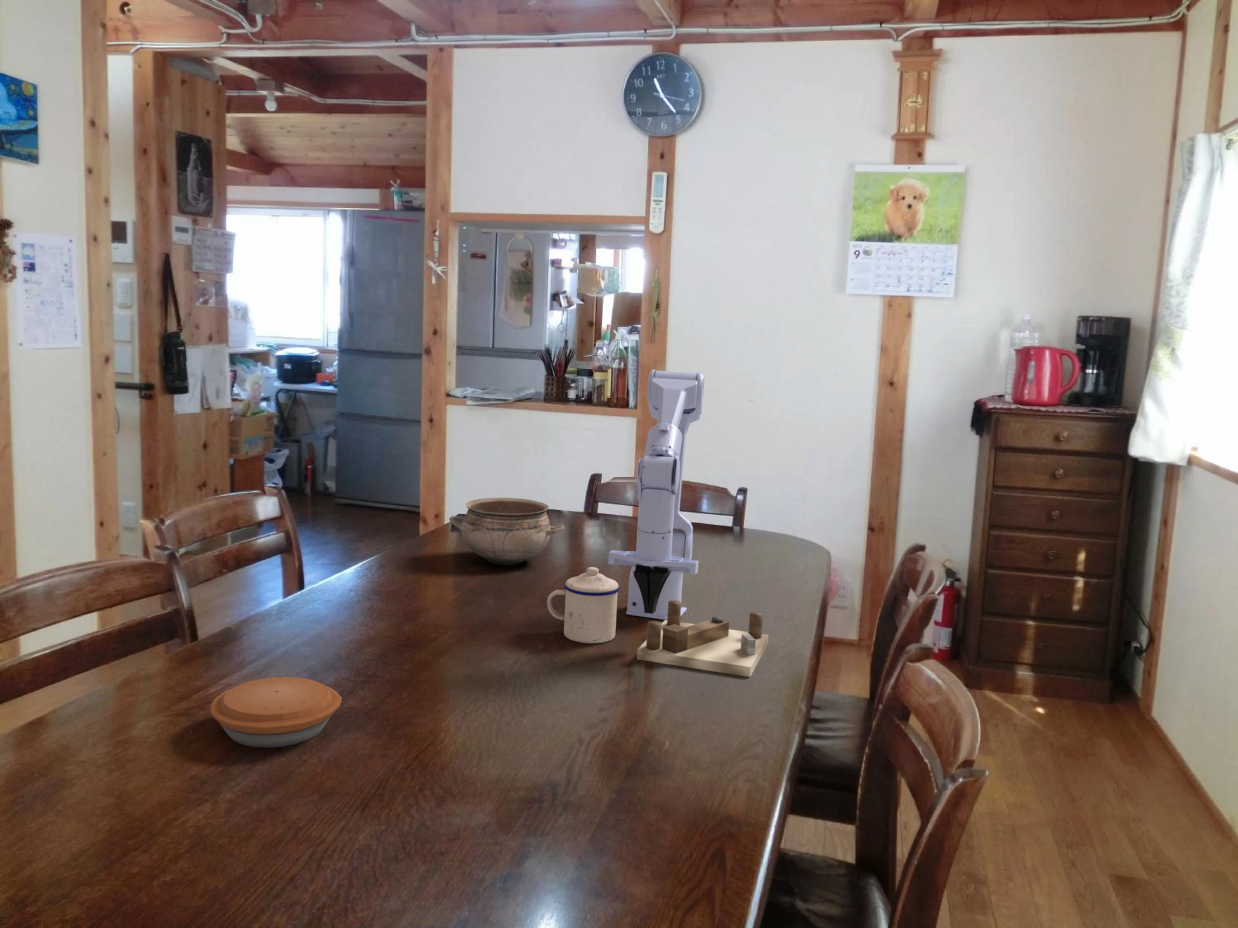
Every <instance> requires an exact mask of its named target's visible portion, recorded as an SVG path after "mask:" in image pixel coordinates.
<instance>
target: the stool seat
mask: <svg viewBox="0 0 1238 928" xmlns="http://www.w3.org/2000/svg"><path fill="white" fill-rule="evenodd" d="M681 607H682V601H681V602H680V601H676V600H671V601H668V615H667V620H663V622H661V621H656V620H655V621H654V620H651V621H648V622H647V623H646V625H647V629H646V640H645V641H644V642H643V643H642V644H641V645H640V646H639V647H638V648H637V650H636V651H637V653H636V660H640V661H645V662H650V663H651V662H652V663H658V664H664V665H672V666H679V667H684V668H691V669H694V670H695V669H696V670H701V671H710V672H716V673H722V674H727V675H728V674H729V675H735V676H741V677H746V678H751V676H752V674H753V673H754V671H755V669H756V667H757V665H758V663H759V662H760V659H761V657H762V656H763V654H764V652H765V650H766V648H767V647H768V644H769V636H770V635H769V634H765V633H764V634H763V621H764V620H763V619H764V614H763V612H760V611H750V612H749V620H748V631H743V630H737V629H730V628H729V634H728V636H727V637H724V638H721V639H718V640H715V641H712V642H709V643H706V644H703V645H700V646H697V647H694V648H691V649H688V650H685V651H682V652H679V653H673V652H670V651H667V650H664V649H662V640H663V627H667V626H670V625H673V624H676V625H679V626H682V627H688V626H691V625H695V624H696V623H695V624H694V623H689V622H681V617H680V615H681Z"/></svg>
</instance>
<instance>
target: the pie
mask: <svg viewBox="0 0 1238 928" xmlns="http://www.w3.org/2000/svg"><path fill="white" fill-rule="evenodd" d="M342 700H343V698H342V696H341V695H340V693H338V692H337V690H335V689H333V688H332V687H330V686H326V685H325V684H323V683H322V682H319V681H316V680H313V679H310V678H306V677H305V678H303V677H296V676H295V677H291V676H277V677H267V678H261V679H255V680H251V681H247V682H244V683H241V684H239V685H236V686H234V687H231V689H227V690H224V691H222V692H221V693H220V694H219V695H217V696H216V697H215V698H214V699H213V701H212V703H211V704H210V715H211V716H212V717H213V718H214V720H215V721H217V722H218V723H219V725H220V726H221V728H223V730H224V731H225V733H226V734H227V736H228V737H229V738H231V740H233V742H235V743H238V744H241V745H243V746H247V747H253V748H263V749H264V748H267V749H269V748H282V747H288V746H295V745H298V744H302V743H304V742H306V741H308V740H311V739H312V738H314V737H316V736H317V735H318V734H320V733H321V732H322V730H323V729H324V728H325V726H326V725H327V724H328V722H329V720H330V718H331V716H333V714H334V713H335V712H336V711H337V710H338V709H339V708H340V705H341V703H342Z"/></svg>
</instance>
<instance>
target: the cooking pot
mask: <svg viewBox="0 0 1238 928" xmlns="http://www.w3.org/2000/svg"><path fill="white" fill-rule="evenodd" d="M465 507H466V508H467V511H466V513H465V516H464V518H460V517H458V516H455V515H451V516H450V517H449V522H450V523H451V524H452V525H453V526H455V527H456V528H458V529H459V530H460V531H461V536H462V540H463V542H464V544H465V545H466V547H467V548H468V549H470V550H471V551H472V552H473V553H474V554H477V555H478V556H480V557H481V558H482V559H484V560H486V561H487V562H489V563H490V564H492V565H496V566H516V565H520V564H521V563H523V562H525V561H527V560H529V559H531V558H532V557H534V556H536V555H537V554H539V553H540V552H542V551H543V550H544V549H545V548H546V547H547V545H548V543H549V541H550V539H551V536H552V535H554V534H558V533H559V532H562V531H563V530H565V528H566V527H565V525H564V524H561V525H557V526H553V525H551V523H550V519H549V517H548V514H547V511H548V510H549V507H550V506H549V505H548V504H546V503H544V502H541V501H538V500H533V499H526V498H515V497H486V498H477V499H473V500H470V501H468V502H466V503H465Z"/></svg>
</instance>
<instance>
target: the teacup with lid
mask: <svg viewBox="0 0 1238 928" xmlns="http://www.w3.org/2000/svg"><path fill="white" fill-rule="evenodd" d="M599 571H600V569H599V568H598V567H595V566H594V567H593V566H590V567H588V568H586V572H584V573H581V574H579V575H578V576H573V577H571V578H568V579H567V580H566V581H565V584H564V588H565V589H556V590H554V591H552V592H551V593H549V595H548V596H547V600H546V604H547V609H548V611H549V613H550V614H551V615H552V616H553V617H554V618H556V619H558V620H561V621H564V622H563V625H564V626H563V635H564V636H565V637H566V638H567V639H568V640H571V641H573V642H577V643H583V644H603V643H606V642H610V641H612V640H613V639H614V638H615V637H616V627H617V608H618V592H619V590H620V586H619V583H618V582H617V581H616V580H614V579H613V578H609V577H607V576H605V575H604V574H602V573H599ZM557 595H558V596H565V597H564V600H565V601H564V603H565V604H564V614H561V613H559V612H557V611H556V609H555V608H554V605H553V598H554V597H555V596H557Z"/></svg>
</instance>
